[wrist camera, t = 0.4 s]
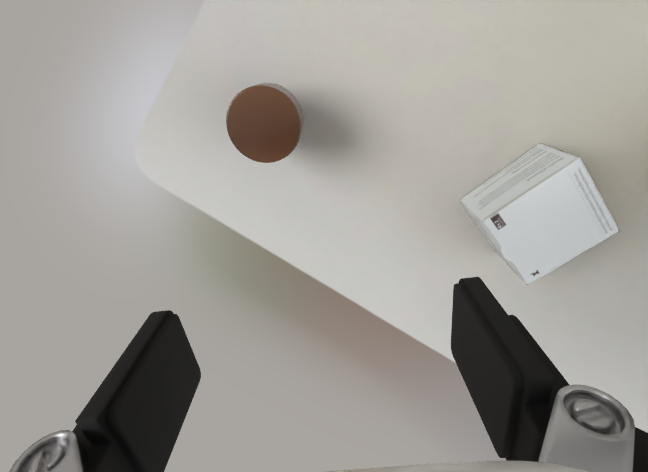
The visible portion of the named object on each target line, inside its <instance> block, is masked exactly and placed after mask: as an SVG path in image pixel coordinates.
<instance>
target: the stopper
mask: <svg viewBox="0 0 648 472" xmlns="http://www.w3.org/2000/svg"><path fill="white" fill-rule="evenodd" d="M226 123H227V130H228V134H229V137H230V139H231V141H232V142H233V144H234V146H235V147H236V148H237V149H238V150H239V151H240V152H241V153H242V154H243V155H245V156H246V157H248V158H250V159H252V160H254V161H257V162H263V163H270V162H276V161H279V160H281V159H283V158H285V157H286V156H288V155H289V154H290V153H291V152H292V151H293V150H294V148H295V147H296V145H297V143H298V141H299V138H300V135H301V132H302V128H303V113H302V109H301V106H300V104H299V102H298V100H297V99H296V98H295V96H294V95H293V94H292V93H291V92H290V91H289V90H287V89H286V88H284V87H282V86H280V85H277V84H273V83H262V84H258V85H255V86H251V87H249V88H246V89H244V90H243V91H241V92H240V93H238V94H237V95H236V96H235V98H234V99H233V100H232V102H231V104H230V106H229V108H228V112H227V119H226Z"/></svg>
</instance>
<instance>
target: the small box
mask: <svg viewBox="0 0 648 472" xmlns="http://www.w3.org/2000/svg"><path fill="white" fill-rule="evenodd" d="M460 202H461V204H462V205H463V207H464V208H465V209H466V211H467V212H468V214H469V215H470V217H471V218H472V219H473V221H474V222H475V224H476V225H477V226H478V228H479V229H480V230H481V232H482V233H483V235H484V236H485V237H486V239H487V240H488V241H489V243H490V244H491V245H492V247H493V248H494V249H495V251H496V252H497V253H498V255H499V256H500V257H501V258H502V259H503V260H504V261H505V262H506V264H507V265H508V266H509V267H510V268H511V269H512V270H513V271H514V272H515V273H516V275H517V276H518V277H519V278H520V279H521V280H522V281H523V282H524V283H525V284H526V285H528V284H530V283H532V282H534V281H535V280H537V279H539V278H541V277H543V276H544V275H546V274H548V273H550V272H551V271H553V270H555V269H556V268H558V267H559V266H561V265H563V264H564V263H566V262H568V261H569V260H571V259H573V258H574V257H576V256H578V255H579V254H581V253H583V252H585V251H586V250H588V249H590V248H591V247H593V246H595V245H596V244H598V243H600V242H602V241H603V240H605V239H607V238H608V237H610V236H612V235H614V234H615V233H617V232H618V231H619V229H618V227H617V225H616V223H615V221H614V219H613V217H612V215H611V213H610V211H609V209H608V208H607V206H606V204H605V202H604V200H603V198H602V196H601V194H600V193H599V191H598V189H597V187H596V185H595V184H594V182H593V180H592V178H591V176H590V174H589V173H588V171H587V169H586V167H585V165H584V163H583V162H582V160H581V158H580V157H577V156H574V155H571V154H568V153H566V152H563V151H561V150H558V149H555V148H552V147H549V146H546V145H544V144H541V143H540V144H538V145H537V146H535V147H534V148H532V149H531V150H530V151H528V152H527V153H525V154H524V155H522V156H521V157H520V158H518V159H517V160H515V161H514V162H513V163H511V164H510V165H508V166H507V167H506V168H504V169H503V170H501V171H500V172H498V173H497V174H496V175H494V176H493V177H491V178H490V179H489V180H487V181H486V182H484V183H483V184H481V185H480V186H479V187H477V188H476V189H474V190H473V191H471V192H470V193H469V194H467V195H466V196H465V197H463V198H462V199H461V200H460Z"/></svg>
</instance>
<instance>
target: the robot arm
mask: <svg viewBox="0 0 648 472" xmlns="http://www.w3.org/2000/svg"><path fill="white" fill-rule="evenodd" d="M451 350H452V354H453V357H454V359H455V361H456V364H457V366H458V368H459V370H460V372H461V375H462V377H463V379H464V381H465V383H466V386H467V388H468V390H469V392H470V394H471V397H472V399H473V401H474V404H475V405H476V408H477V410H478V412H479V414H480V417H481V419H482V421H483V424H484V426H485V428H486V430H487V432H488V435H489V437H490V439H491V441H492V444H493V446H494V448H495V450H496V452H497V454H498V456H499V457H500V458H506V460H507V461H477V462H458V463H440V464H424V465H412V466H411V465H410V466H398V467H397V466H396V467H384V468H370V469H355V470H341V471H329V472H648V433H647V432H644V431H642V430H640V429H638V428H636V427H635V425H634V420H633V418H632V416H631V415H630V413H629V411H628V410H627V409H626V408H625V407H624V406H623V405H622V404H621V403H620V402H619V401H618V400H616V399H615V398H613V397H612V396H610V395H609V394H607V393H605V392H603V391H601V390H599V389H596V388H593V387H589V386H586V385H569V384H568V382H567V381H566V380H565V379H564V377H563V376H562V375H561V373H560V372H559V371H558V370H557V368H556V367H555V366H554V364H553V363H552V362H551V361H550V359H549V358H548V357H547V355H546V354H545V353H544V351H543V350H542V349H541V348H540V346H539V345H538V344H537V342H536V341H535V340H534V339H533V337H532V336H531V335H530V333H529V332H528V331H527V330H526V328H525V327H524V326H523V324H522V323H521V322H520V321H519V319H518V318H517V317H516V316H514V315H507V313H506V312H505V311H504V309H503V308H502V307H501V305H500V304H499V303H498V301H497V300H496V299H495V297H494V296H493V295H492V293H491V292H490V291H489V289H488V288H487V286H486V285H485V284H484V282H483V281H482V280H481V279H480V278H479V277H473V278H464V279H460V281H459V284H454V291H453V312H452V333H451ZM200 377H201V372H200V368H199V366H198V364H197V361H196V359H195V356H194V353H193V351H192V348H191V346H190V343H189V341H188V339H187V336H186V334H185V331H184V329H183V326H182V324H181V322H180V319H179V317H178V315H177V314H173V312H172V311H159V312H153V313H151V314H150V315H149V317H148V318H147V320H146V321H145V323H144V324H143V325H142V327H141V328H140V330H139V331H138V333H137V334H136V336H135V337H134V338H133V340H132V341H131V343H130V344H129V345H128V347H127V348H126V350H125V351H124V353H123V354H122V355H121V357H120V358H119V360H118V361H117V362H116V364H115V365H114V367H113V368H112V370H111V371H110V372H109V374H108V375H107V377H106V378H105V380H104V381H103V382H102V384H101V385H100V387H99V388H98V390H97V391H96V392H95V394H94V395H93V397H92V398H91V400H90V401H89V403H88V404H87V405H86V407H85V408H84V410H83V411H82V412H81V414H80V415H79V417H78V418H77V419H76V421H75V422H76V423H77V425H76V427H75V429H74V430H73V431H72V432H71V431H69V430H61V431H57V432H54V433H51V434H49V435H47V436H45V437H43V438H41V439H40V440H38V441H37V442H35V443H34V444H32V445H31V446H30V447H29V448H28V449H27V450H25V451H24V452H23V453H22V454H21V456H20V457H19V458H18V459H17V460H16V461H15V463H14V465H13V466H12V468H11V470H10V472H164V470H165V467H166V465H167V462H168V460H169V457H170V455H171V452H172V450H173V447H174V445H175V442H176V440H177V437H178V435H179V432H180V429H181V427H182V424H183V422H184V419H185V417H186V414H187V412H188V409H189V407H190V404H191V402H192V399H193V397H194V394H195V392H196V389H197V386H198V383H199V381H200Z"/></svg>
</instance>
